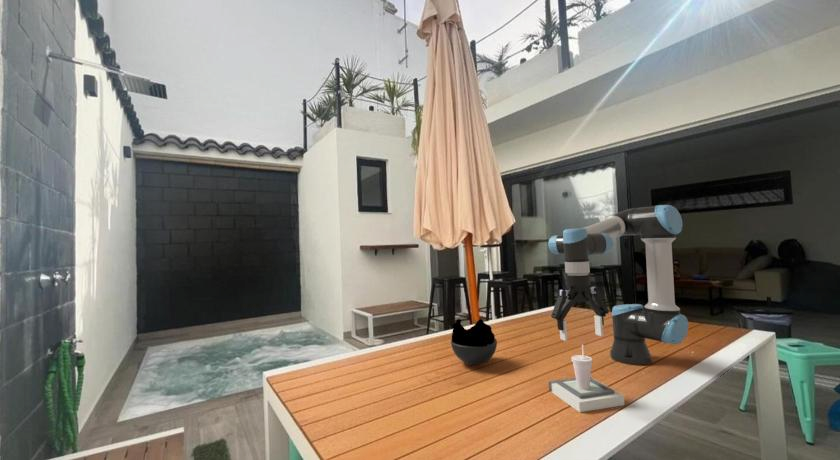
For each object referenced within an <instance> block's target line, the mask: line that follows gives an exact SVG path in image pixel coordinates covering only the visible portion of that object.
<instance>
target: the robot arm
mask: <svg viewBox="0 0 840 460" xmlns="http://www.w3.org/2000/svg"><path fill="white" fill-rule="evenodd" d="M683 225H684V224H683V219H682V215H681V214H680V212H679V210H678V209H677V208H676V207H675V206H673V205H671V204H658V205H650V206H642V207H633V208H628V209H625V210H623V211H620V212H617V213H615V214H612V215H611V214H610V215H609V216H607V217H605V219H604V220H602V221H599V222H596V223H593V224H591V225H590V224H589V225H588V226H587V225H586V226H585V227H581V228H580V227H579V228H567V229H564V230H563V232H562V234H555V235H552V236H551V237H550V238H549V239H548V244H547V245H548V249H549V251H550V252H551V253H552V254H553V255H560V256H561V255H562V256H563V257H564V270H565V286H566V287H567V288H566V289H565V290H564V289H558V292H557V293H558V294H557V299H556V301H555V304H554V307H553V310H552V312H551V315H550V316H551V318H552V319H555V320H556V323H557V324H556V325H557V330H559V337H560V340H562V341H564V342H568V330H567V320H565V318H566V317H567V315H568V314H569V312H570V310H571V309H572V307H573V306H574V305H575V304H576V303H578V304H579V303H581V302H582V303H584V302H585V303H586V304H587V306H589V307H590V309H591V310H592V311H593V312H594V313H595V315H593V317H594V331H595V335H596V336H598V337H604V330H603V329H604V327H603V326H605V323H604V322H605V321H604V320H605V319H604V317H607V315H608V314H609V313H610V312H609V309H608V307H607V305H606V303H605V302H604V299H603V297H602V296H601V294H600V290H599V287H597V286H591V275H590V272H591V271H590V269H591V268H590V260H589V259H590V258H589V256H595V255H597V256H598V255H604V254H607V253H609V252H611V251H612V249H613V246H614V245H613V244H614V241H613V239H612V238H619V237H623V236H625V237H626V236H640V240H641V242H643V243H644V244H645V259H646V261H645V262H646V279H647V283H646V284H647V299H648V300H647V303H646V304H645V305H643V304H640V303H632V304H631V303H630V304H629V303H626V304H618V305H614V306H613V307H612V311H611V317H612V330H613V340H612V346H611V349H610V351H609V355H610V356H609V357H610V358H611V360H614V361H616V362H619V363H623V364H628V365H634V366H635V365H636V366H637V365H638V366H642V365H643V366H644V365H649V364H651V363H653V362H652V361H653V360H652V354H651V353H650V350H649V347H648V345H647V342H646V339H647V340H652V341H656V342H660V343H664V344H670V345H671V344H672V345H678V344H681V343H682V342H683V341H684V340H685V338H686V337H687V334H688V332H689V320H688V318H687V317H686V316H687V315H686V316H685V315H684V314H681V308H680V307H679V306H677V305H676V302H675V301H676V299H675V297H676V296H675V284H674V283H675V282H674V281H675V280H674V264H673V247H672V243H673V242H674V241H675V240H676V239H677V236H676V235H678V234H680V233H681V232H682V231H683ZM590 286H591V287H590ZM590 295H591V296H592V297H591V296H590Z"/></svg>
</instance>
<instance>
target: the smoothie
mask: <svg viewBox="0 0 840 460" xmlns="http://www.w3.org/2000/svg"><path fill="white" fill-rule="evenodd" d="M581 351H582V352H581V354H575V355H572V356H571V362H572V364H573V365H572V366H573V371H574V375H575V378H576V382H577V387H578V388H579V389H582V390H588V389H590V377H591V375H592V364H593V358H592V357H591V356H588V355H585V347H584V344H581ZM591 378H592V377H591Z"/></svg>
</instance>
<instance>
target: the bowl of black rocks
mask: <svg viewBox="0 0 840 460" xmlns="http://www.w3.org/2000/svg"><path fill="white" fill-rule="evenodd" d="M461 323H462V320H461V319H460V318H457V320H456V321H455V322H454V323H453V324H452V328H453V329H452V332H451V333H452V334H451V340H450V345H451V348H452V351H453V353H454V354H455V355H456V357H457V358H458V359H459V360H460V361H462V362H463V363H466V364H468V365H471V366H472V365H473V366H475V365H476V366H478V365H482V364H485V363H486V362H489V360H491V358H492V357H493V356H494V355H495V352H496V351H497V346H498V340H497V339H496V338H495V337H496V336H495V334H494V333H493V330H492V327H491V325H489V324H487V323H485V322H484V320H483V319H482V318H480V319H478V320H477V321H476V322H475V324H474V325H473V326H472V327H471V326H470V328H468V329H466V328H465V327H464V326H463V325H462V324H461Z"/></svg>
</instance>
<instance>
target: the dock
mask: <svg viewBox="0 0 840 460" xmlns="http://www.w3.org/2000/svg"><path fill="white" fill-rule="evenodd" d="M548 391H550V392H551V393H552V394H554V395H555V397H556V396H557V397H558V398H559V399H560V400H562V401H563V402H565V403H566V404H568V405H569V406H571V408H573V409H574V410H576V411H577V412H579V413H584V412H590V411H596V410H601V409H608V408H614V407H620V406H625V395H624V394H623V393H620V392H618V391H617V390H615V389H613V388H611V387H609V386H608V385H606V384H603V383H602V382H601V381H598V380H597V379H594V378H593V377H590V389H588V390H582V389H579V388H578V387H577V382H576V377H572V378H565V379H563V378H562V379H556V380H551V381H550V380H549V381H548Z"/></svg>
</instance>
